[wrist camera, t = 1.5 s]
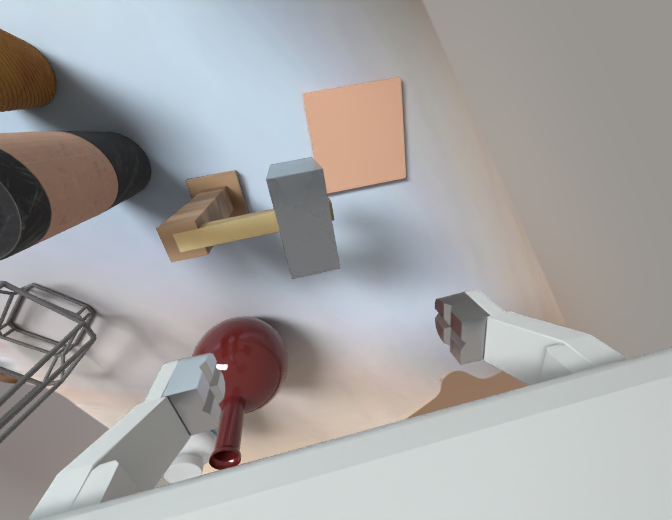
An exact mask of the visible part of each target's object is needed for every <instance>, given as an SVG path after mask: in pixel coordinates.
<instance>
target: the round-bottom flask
mask: <svg viewBox="0 0 672 520" xmlns="http://www.w3.org/2000/svg"><path fill="white" fill-rule="evenodd" d="M206 353H212V354H213V355H214V357H215V359H216V361H217V362H216V366H215V368H217V369H219V370H221V372H222V374H223V376H224V381H225V395H224V399H223V400H222V401H221V402H220V404H219V406H220V408H221V414H220V415H221V417H220V422H219V427H218V432H217V437H216V442H215V446H214V451H213V452H212V454H211V456H210V459H209V464H210V465H211V466H212V467H213V468H215V469H219V470H222V469H226V468H230V467H233V466H237V465H238V464H239V463H240V461H241V453H240V443H241V436H242V428H243V420H244V415H248V414H251V413H253V412H255V411H258V410H259V409H261V408H263V407H264V406H265V405H267V404H268V403H269V402H270V401H271V400H272V399H273V398H274V397H275V396H276V394H277V393H278V392H279V390H280V389H281V387H282V385H283V383H284V380H285V377H286V374H287V369H288V354H287V349H286V346H285V343H284V341H283V339H282V337H281V336H280V334H279V333H278V332H277V331H276V330H275V329H274V328H273V327H272V326H271V325H270V324H268V323H266V322H265V321H262V320H260V319H257V318H253V317H235V318H231V319H227V320H225V321H222V322H220V323H218V324H217V325H215V326H214V327H212V328H211V329H210V330H209V331H208V332H206V334H205V335H204V336H203V337H202V338H201V339H200V341H199V342H198V344H197V346H196V347H195V349H194V352H193V354H192V357H193V356H197V355H202V354H206Z"/></svg>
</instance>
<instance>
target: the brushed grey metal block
mask: <svg viewBox="0 0 672 520" xmlns="http://www.w3.org/2000/svg"><path fill="white" fill-rule="evenodd" d="M266 181H267V184H268V188H269V192H270V196H271V200H272V204H273V207H274V211H275V215H276V219H277V223H278V227H279V231H280V234H281V238H282V242H283V246H284V250H285V254H286V257H287V261H288V265H289V269H290V273H291V277H292V279H294V278H299V277H303V276H308V275H312V274H317V273H321V272H326V271H330V270H335V269H339V268H340V264H339V258H338V253H337V247H336V241H335V235H334V230H333V224H332V218H331V212H330V206H329V201H328V195H327V189H326V183H325V177H324V172H323V168H322V167H321V166H320V165H319V164H318V163H317V162H316V161H315V160H314V159H313V158H312V157H309V158H303V159H298V160H293V161H288V162H282V163H277V164H272V165H270V167H269V171H268V175H267V178H266Z"/></svg>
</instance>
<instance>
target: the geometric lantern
mask: <svg viewBox="0 0 672 520" xmlns="http://www.w3.org/2000/svg"><path fill="white" fill-rule="evenodd" d="M33 286H34V287H36V288H39V289H41V290H44V291H46V292H49V293H51V294H54V295H56V296H59V297H61V298H64V299H66V300H69V301H71V302H74V303H76V304H79V305H81V306H84V307H83V308H82V309H81V310H80V311H79V312H78V313H73V312H71V311H69V310H66V309H64V308H61V307H59V306H57V305H54V304H52V303H49V302H47V301H45V300H42V299H40V298H38V297H36V296H34V295H32V294H30V293H28V292H27V291H28V290H29V289H31V288H32V287H33ZM3 287H6V288H8V289H10V290H12V291H14V292H9V291H3V290H0V293H2V294H8V295H10V296H9V299H8V301H7V304H6V306H5V308H4V311H3V313H2V316H1V318H0V330H1V329H3V328H4V327H6V326H7V325H9V326H10V327H11V328H12V329H11V330H9V331H8V332H7V333H5V334H4V335H2V333H1V331H0V338H1V339H4V340H7V341H10V342H13V343H16V344H19V345H22V346H25V347H28V348H31V349H34V350H37V351H40V352H43V353H46V354H47V355H45V356H44V357H43V358H42V359H41V360H40V361H39V362H38V363H37V364H36V365H35V366H34V367H33V368H32V369H31V370H30V371H28V372H27V373H26V374H25V375H22V374H19V373H16V372H14V371H11V370H8V369H6V368H3V367H0V372H2V373H5V374H7V375H10V376H13V377H16V378H18V379H20V380H19V381H18V382H17V383H16V384H15V385H14V386H13V387H11V388H10V389H9V390H8V391H7V392H6V393H5V394H4V395H3V396H2V397H1V398H0V406H2V405H3V404H4V403H5V402H6V401H7V400H8V399H9V398H10V397H11V396H12V395H13V394H14V393H15V392H16V391H17V390H18V389H19V388H20V387H21V386H22V385H23V384H24V383H25V382H29V383H32V384H35V385H37V386H36V387H35V388H33V389H32V390H31V391H30V392H29V393H28V394H27V395H26V396H25V397H24V398H22V399H21V400H20V401H19V402H18V403H17V404H16V405H15V406H14V407H12V408H11V409H10V410H9V411H8V412H7V413H6V414H5V415H4V416H2V417H1V418H0V429H2V428H3V427H4V426H5V425H6V424H7V423H8V422H9V421H10V420H11V419H12V418H13V417H14V416H15V415H17V414H18V413H19V412H20V411H21V410H22V409H23V408H24V407H25V406H26V405H27V404H28V403H29V402H30V401H31V400H33V399H34V397H36V396H37V395H38V394H39V393H40V392H41V391H42V390H43V389H44V388H45V387H46V386H51V385H54V386H53V387H52V388H51V389H50V390H48V391H47V392H46V393H45V394H44V395H43V396H42V397H41V398H40V399H39V400H38V401H37V402H36V403H35V404H34V405H33V406H32V407H31V408H30V409H28V410H27V411H26V412H25V413H24V414H23V415H22V416H21V417H20V418H19V419H18V420H17V421H16V422H15V423H14V424H13V425H12V426H11V427H10V428H8V430H6V431H5V432H4V433H3V434H2V435H1V436H0V443H1V442H2V441H3V440H4V439H5V438H6V437H7V436H8V435H9V434H10V433H11V432H12V431H14V430H15V429H16V428H17V427H18V426H19V425H20V424H21V423H22V422H23V421H24V420H25V419H26V418H27V417H28V416H29V415H30V414H31V413H32V412H33V411H34V410H35V409H36V408H37V407H38V406H39V405H40V404H41V403H42V402H43V401H44V400H45V399H46V398H47V397H48V396H49V395H50V394H51V393H53V392H54V391H55V390H56V389H57V388H58V387H59V386H60V385H61V384H62V383H63V382H64V381H65V379H66V378H67V377H68V375H69V374H70V373H71V371H72V370H73V369H74V368H75V366H76V365H77V364H78V362H79V361H80V360H81V358H82V357H83V356H84V355H85V353H86V352H87V351H88V349H89V348H90V347H91V346H92V344H93V343H94V342H95V340H96V334H95V333H94V332H93V331H92V329H91V328H90V327H89V325H88V324H89V322H90V320H91V318H92V317H93V315H94V311H93V310H92V309H91V308H90V307H89V306H88V305H86V304H84V303H81V302H79V301H76V300H74V299H71V298H69V297H66V296H64V295H61V294H59V293H57V292H54V291H52V290H49V289H47V288H44V287H42V286H39V285H37V284H34V283H32V284H29V285H27V286H24V287H22V288H18V287H16V286H14V285H12V284H10V283H8V282H6V281H0V289H1V288H3ZM17 294H19V296H18V298H17V300H16V302H15V305H14V307H13V309H12V311H11V313H10V315H9V317H8V319H7V321H6V322H7V323H5V324H4V325H2V323H3V321H4V319H5V316H6V314H7V311H8V309H9V307H10V304H11V302H12V299H13V297H14V295H17ZM22 296H24V297H26V298H28V299H30V300H32V301H34V302H36V303H38V304H40V305H42V306H45V307H47V308H49V309H51V310H53V311H55V312H57V313H59V314H61V315H63V316H65V317H67V318H69V319H71V320H73V321H75V322H77V323H79V324H78V325H77V326H76V327H75V328H74V329H73V330H72V331H71V332H70V333H69V334H68V335H67V336H66V337H65V338H64V339H62V340H61V341H60V342H59V343H58V342H55V341H52V340H49V339H47V338H44V337H41V336H38V335H35V334H32V333H29V332H26V331H23V330H21V329H18V328H16V327H15V326H14V325H13V324H12V323H11V322H10V321H11V319H12V317H13V315H14V313H15V311H16V309H17V307H18V305H19V303H20V301H21V298H22ZM86 308H87V309H88V310H89V311H90V312H91V313H88V314H87V315H86V316H85V317H84V318H82V317H81V316H80V314H81V313H82V312H83V311H84V310H85V309H86ZM88 317H89V318H88ZM87 318H88V319H87ZM86 319H87V321H85V320H86ZM82 327H83V328H82ZM81 328H82V330H81V332H80V333H79V335H78V337H77V339H76V340H75V342H74V343H73V344H71V343H72V342H73V340H74V338H75V336H76V334H77V332H78V331H79V330H80V329H81ZM85 330H86V332H87V333H88V334H89V336H90V337H91V339H90V340H89V341H88V342H87V343H86V344H85V345H84V346H82V347H81V348H80V349H79V350H78V351H77V352H76V353H75V354H74V355H73V356H72V357H70V358H69V359H68V360H67V361H66V362H65V355H66V354H67V353H68V352H69V351H70V350H71V349H72V348H73V347H74V346H75V345H77V343H78V341H79V339H80V338H81V336H82V334H83V332H84V331H85ZM13 331H17V332H20V333H23V334H26V335H29V336H32V337H35V338H38V339H41V340H43V341H46V342H49V343H52V344H55V345H56V346H55V347H54V348H53V349H52V350H51V351H47V350H44V349H41V348H38V347H35V346H32V345H29V344H26V343H23V342H20V341H17V340H14V339H11V338H8V337H6V336H7V335H9V334H10V333H12V332H13ZM68 341H69V342H68ZM67 342H68V344H67V345H65V344H66V343H67ZM61 347H64V348H63V349H61V350H60V351H59V352H58V353H57V354H56V352H57V351H58V350H59V349H60V348H61ZM63 351H64V352H63ZM62 352H63V353H62ZM61 353H62V354H61ZM52 356H55V358H54V360H53V362H52V364H51V366H50V368H49V370H48V372H47V374H46V376H45V378H44V380H43V382H40V381H38V380H35V379H32V378H30V377H31V376H33V375H34V374H35V373H36V372H37V371H38V370H39V369H40V368H41V367H42V366H43V365H44V364H45V363H46V362H47V361H48V360H49V359H50V358H51V357H52ZM60 356H61V367H60V368H58V369H57V370H56V371H55V372H54V373H53V374H52V375H51V376H50V377H49V375H50V373H51V371H52V369H53V367H54V365H55V363H56V361H57V359H58V357H60ZM73 361H74V362H73ZM72 362H73V363H72ZM71 363H72V364H71ZM70 364H71V366H70V367H69V368H68V370H67V371H66V372H65V369H66V368H67V367H68V366H69V365H70ZM64 372H65V373H64ZM60 373H61V379H60V380H58V381H53V380H54V379H55V378H56V377H57V376H58V375H59V374H60ZM48 377H49V378H48Z"/></svg>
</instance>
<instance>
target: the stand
mask: <svg viewBox="0 0 672 520" xmlns="http://www.w3.org/2000/svg"><path fill="white" fill-rule="evenodd" d="M185 181H186V184H187V186H188V189H189V192H190V194H191V197H192V199H191V200H190V201H189V202H188V203H186V204H185V205H184V206H183V207H182V208H180V209H179V210H178V211H177V212H175V213H174V214H173V215H172V216H171V217H169V218H168V219H167V220H166V221H165V222H163V223H162V224H161V225H160V226H159V227H157V228H156V230H157V232H158V234H159V236H160V239H161V241H162V243H163V245H164V247H165V249H166V252H167V254H168V256H169V258H170V260H171V262H176V261H180V260H185V259H190V258H195V257H199V256H204V255H208V254H209V252H210V250H211V248H212V247H213V245H218V244H222V243H227V242H232V241H237V240H242V239H246V238H251V237H256V236H261V235H266V234H270V233H275V232H280V231H279V227H278V223H277V219H276V215H275V211H274V209H271V210H266V211H261V212H256V213H251V214H249V212H248V209H247V206H246V202H245V199H244V196H243V192H242V189H241V186H240V182H239V179H238V176H237V172H236V170H234V171H229V172H223V173H218V174H213V175H207V176H202V177H197V178H191V179H187V180H185ZM328 201H329V206H330V212H331V218H332V221H333V220H334V215H333V209H332V203H331V201H330V199H329V198H328Z"/></svg>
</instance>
